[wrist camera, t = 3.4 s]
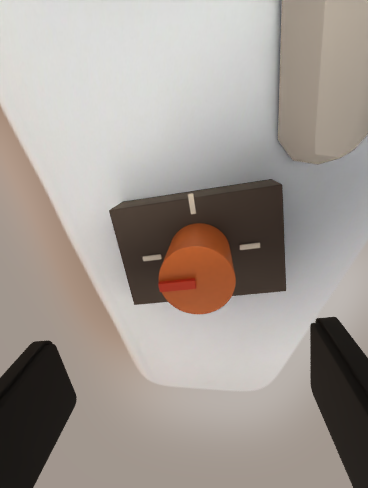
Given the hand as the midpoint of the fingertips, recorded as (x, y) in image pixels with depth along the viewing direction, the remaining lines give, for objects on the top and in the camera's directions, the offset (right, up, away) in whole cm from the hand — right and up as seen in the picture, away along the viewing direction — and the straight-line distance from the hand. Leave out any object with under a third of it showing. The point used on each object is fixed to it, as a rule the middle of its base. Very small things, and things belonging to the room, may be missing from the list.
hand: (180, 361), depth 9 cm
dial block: (+2, +5, +12) cm, 13 cm away
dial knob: (+1, +4, +9) cm, 10 cm away
